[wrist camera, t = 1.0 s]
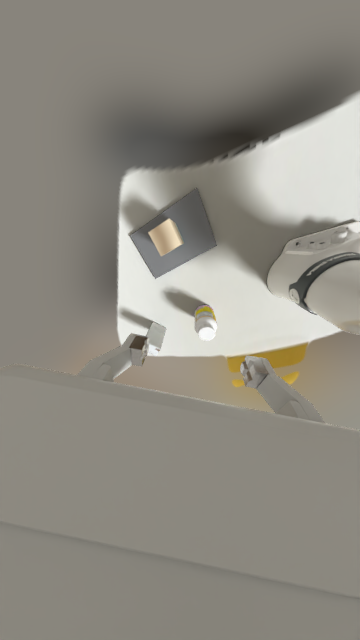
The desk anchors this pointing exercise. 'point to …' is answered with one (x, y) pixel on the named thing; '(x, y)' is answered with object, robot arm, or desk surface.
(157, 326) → the skincare box
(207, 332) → the supplement bottle
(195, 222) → the rubber mat
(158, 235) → the birch block
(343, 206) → the desk surface
